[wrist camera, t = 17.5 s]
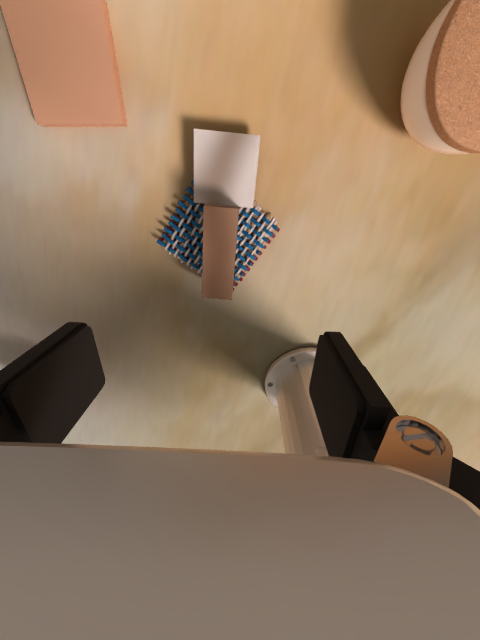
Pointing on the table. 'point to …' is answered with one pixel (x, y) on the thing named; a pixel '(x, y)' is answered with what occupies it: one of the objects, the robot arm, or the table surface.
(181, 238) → the woven mat
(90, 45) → the tile
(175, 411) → the table surface
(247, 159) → the turner
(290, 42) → the table surface
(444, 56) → the lidded jar
